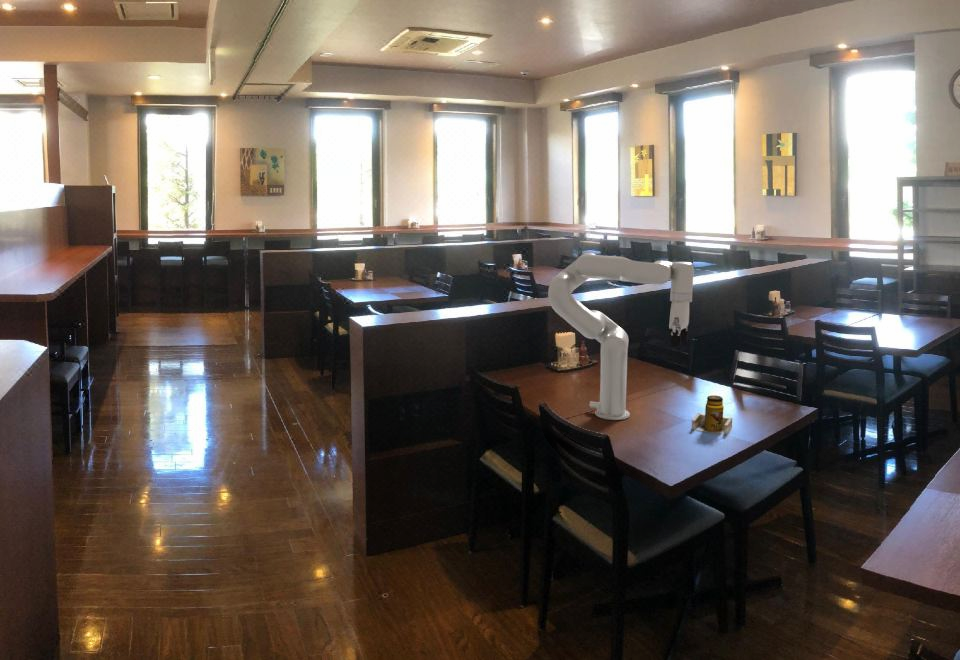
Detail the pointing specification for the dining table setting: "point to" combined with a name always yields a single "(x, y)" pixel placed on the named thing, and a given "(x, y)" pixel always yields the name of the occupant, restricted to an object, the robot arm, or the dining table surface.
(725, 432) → the u rest
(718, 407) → the condiment
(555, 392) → the dining table surface
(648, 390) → the dining table surface
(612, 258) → the robot arm
